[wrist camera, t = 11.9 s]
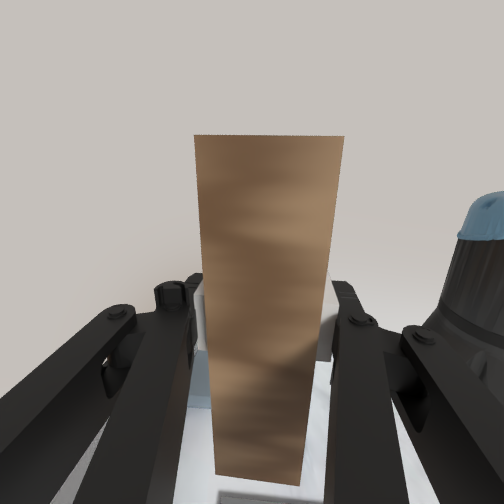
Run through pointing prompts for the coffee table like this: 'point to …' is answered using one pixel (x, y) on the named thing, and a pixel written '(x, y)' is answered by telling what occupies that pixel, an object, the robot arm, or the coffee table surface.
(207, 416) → the coffee table surface
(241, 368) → the tall wooden pillar
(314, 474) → the coffee table surface
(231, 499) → the plate
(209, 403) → the tile
